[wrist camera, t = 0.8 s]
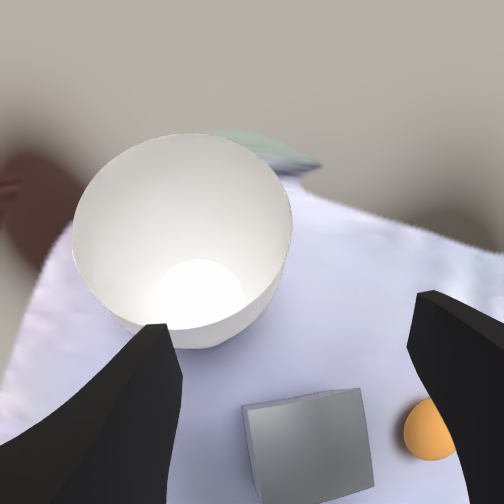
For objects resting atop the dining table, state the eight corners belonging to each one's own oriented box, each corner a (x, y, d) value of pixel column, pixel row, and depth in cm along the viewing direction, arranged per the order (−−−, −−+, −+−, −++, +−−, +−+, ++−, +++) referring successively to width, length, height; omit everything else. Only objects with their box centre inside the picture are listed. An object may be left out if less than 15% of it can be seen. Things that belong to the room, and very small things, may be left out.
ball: (445, 443, 19) (484, 446, 14) (395, 465, 18) (431, 476, 14) (437, 388, 21) (477, 382, 16) (387, 407, 20) (424, 407, 16)
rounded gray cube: (338, 467, 18) (374, 486, 13) (254, 485, 17) (265, 514, 12) (326, 390, 21) (360, 387, 15) (241, 405, 20) (247, 410, 14)
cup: (122, 273, 23) (55, 175, 12) (229, 229, 25) (235, 110, 15) (166, 386, 20) (104, 375, 9) (284, 332, 22) (341, 268, 11)
